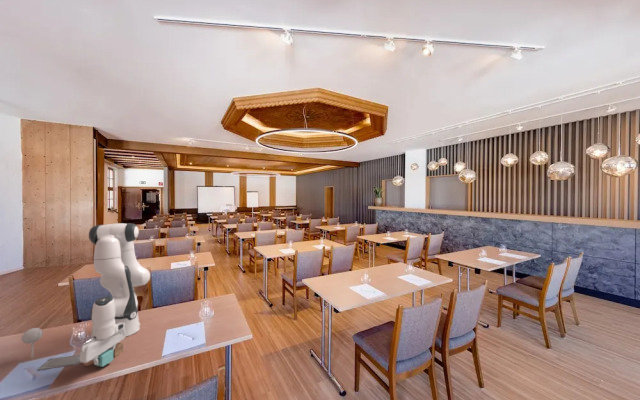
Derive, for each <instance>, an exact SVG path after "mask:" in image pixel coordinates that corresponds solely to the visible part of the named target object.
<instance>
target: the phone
mask: <svg viewBox="0 0 640 400" xmlns="http://www.w3.org/2000/svg"><path fill="white" fill-rule="evenodd" d="M79 359H80V354H74V355H67V356H60V357H52V358H49V359H47V360H46V361H45V362H44V363H42V364H41V365H39V367H37V371H44V370H45V371H46V370H51V369H58V368H63V367H70V366H77V365H79V364H81V362H80V360H79Z"/></svg>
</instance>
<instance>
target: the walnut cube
mask: <svg viewBox="0 0 640 400" xmlns="http://www.w3.org/2000/svg"><path fill="white" fill-rule="evenodd" d="M109 350H110V348H109ZM123 352H124V342H119V343H117V344H116V346H115V349H114V351H113V359H114V358H117V357H118V356H119V355H120V354H122V353H123Z"/></svg>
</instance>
